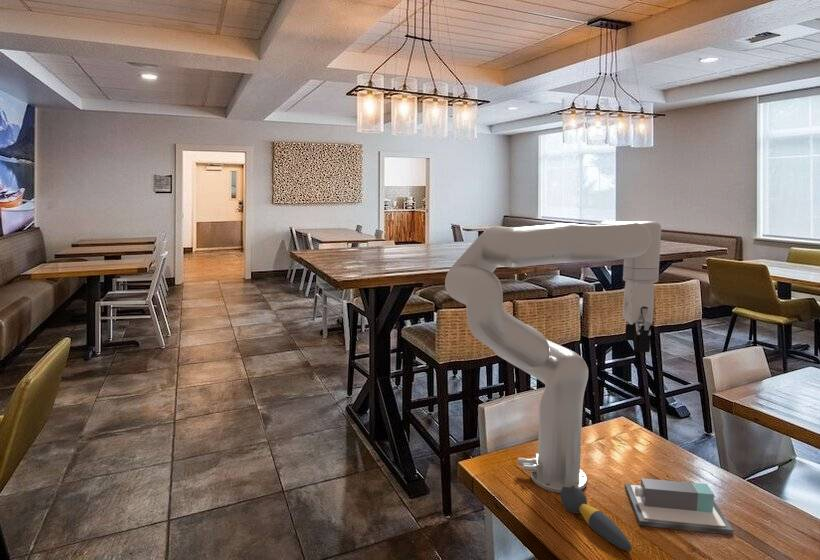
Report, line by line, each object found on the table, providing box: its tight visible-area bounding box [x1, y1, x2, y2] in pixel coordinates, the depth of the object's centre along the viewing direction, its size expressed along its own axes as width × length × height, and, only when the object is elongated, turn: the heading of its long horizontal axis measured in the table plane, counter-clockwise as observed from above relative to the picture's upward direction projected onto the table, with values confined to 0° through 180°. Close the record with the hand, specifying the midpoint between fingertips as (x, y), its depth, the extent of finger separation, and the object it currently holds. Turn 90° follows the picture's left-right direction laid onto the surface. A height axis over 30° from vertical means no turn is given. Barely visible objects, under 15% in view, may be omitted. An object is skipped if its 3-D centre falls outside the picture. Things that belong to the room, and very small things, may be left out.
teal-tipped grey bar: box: [635, 478, 715, 513], centre depth 108 cm, size 14×4×4 cm, turn 79°
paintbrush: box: [560, 487, 632, 552], centre depth 103 cm, size 20×5×5 cm, turn 28°
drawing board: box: [624, 482, 734, 535], centre depth 108 cm, size 17×14×1 cm
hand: (636, 345), depth 122 cm, fingers open, 9 cm apart
